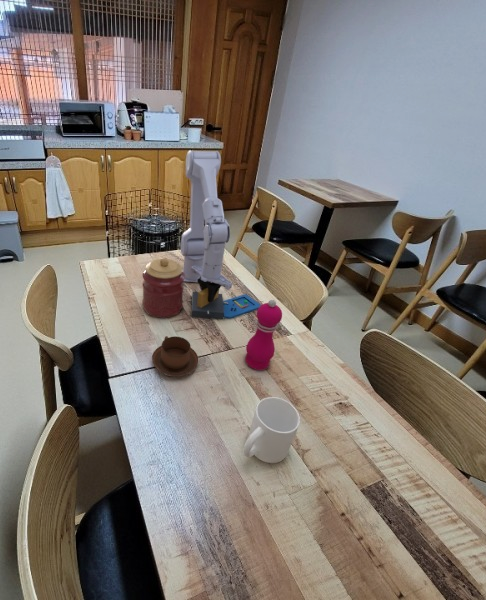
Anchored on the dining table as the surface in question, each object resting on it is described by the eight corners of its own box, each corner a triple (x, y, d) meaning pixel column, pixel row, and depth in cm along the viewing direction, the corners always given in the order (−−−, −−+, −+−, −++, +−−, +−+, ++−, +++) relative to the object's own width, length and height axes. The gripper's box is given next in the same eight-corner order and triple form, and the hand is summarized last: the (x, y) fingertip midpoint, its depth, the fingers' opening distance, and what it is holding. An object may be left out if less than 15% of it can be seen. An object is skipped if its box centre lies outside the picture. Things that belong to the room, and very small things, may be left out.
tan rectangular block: (200, 308, 106) (202, 294, 103) (196, 306, 107) (198, 292, 104) (218, 297, 112) (220, 283, 109) (214, 295, 112) (216, 281, 110)
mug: (255, 483, 64) (266, 451, 58) (225, 449, 69) (232, 417, 63) (295, 450, 70) (309, 419, 64) (265, 422, 75) (275, 390, 69)
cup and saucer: (142, 363, 88) (142, 345, 85) (173, 342, 96) (175, 324, 92) (176, 388, 82) (177, 370, 78) (206, 363, 89) (209, 346, 86)
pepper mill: (275, 362, 91) (294, 300, 80) (261, 376, 87) (279, 313, 76) (252, 348, 95) (267, 288, 84) (238, 361, 91) (251, 299, 80)
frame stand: (186, 318, 105) (186, 311, 104) (187, 295, 116) (187, 289, 115) (228, 321, 105) (229, 315, 104) (225, 298, 116) (226, 291, 115)
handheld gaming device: (211, 304, 111) (245, 293, 118) (210, 306, 112) (245, 295, 118) (226, 317, 105) (262, 305, 112) (226, 320, 106) (261, 308, 113)
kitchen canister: (187, 316, 106) (191, 266, 96) (146, 320, 103) (146, 270, 93) (176, 294, 117) (180, 247, 107) (139, 297, 114) (139, 249, 104)
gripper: (185, 257, 103) (183, 294, 110) (224, 275, 95) (218, 314, 102) (200, 250, 107) (196, 287, 115) (238, 267, 99) (231, 305, 107)
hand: (208, 299), depth 109 cm, fingers closed on tan rectangular block, 2 cm apart
